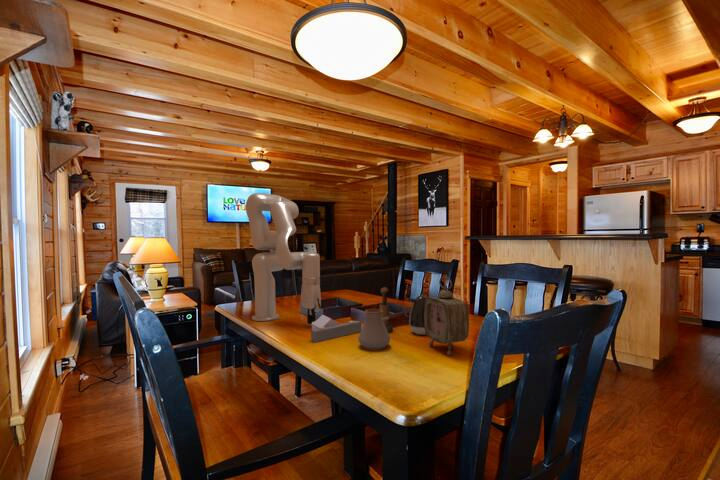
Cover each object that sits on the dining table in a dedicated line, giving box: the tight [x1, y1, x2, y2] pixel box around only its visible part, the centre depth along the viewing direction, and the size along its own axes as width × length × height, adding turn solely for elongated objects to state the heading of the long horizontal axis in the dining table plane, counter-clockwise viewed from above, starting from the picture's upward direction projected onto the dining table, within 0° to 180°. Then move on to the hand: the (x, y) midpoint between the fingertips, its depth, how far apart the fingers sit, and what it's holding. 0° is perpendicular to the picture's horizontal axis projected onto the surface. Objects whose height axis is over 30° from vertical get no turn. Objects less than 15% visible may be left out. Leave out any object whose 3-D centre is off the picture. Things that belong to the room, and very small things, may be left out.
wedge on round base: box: [311, 314, 339, 330], centre depth 144 cm, size 9×7×13 cm
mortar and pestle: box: [379, 286, 394, 334], centre depth 144 cm, size 7×6×18 cm
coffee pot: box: [357, 308, 411, 351], centre depth 120 cm, size 21×12×15 cm, turn 44°
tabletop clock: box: [424, 276, 470, 356], centre depth 119 cm, size 14×9×25 cm, turn 22°
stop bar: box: [310, 320, 362, 344], centre depth 137 cm, size 3×22×5 cm, turn 129°
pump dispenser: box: [408, 294, 428, 336], centre depth 140 cm, size 10×10×15 cm
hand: (311, 323), depth 152 cm, fingers closed
